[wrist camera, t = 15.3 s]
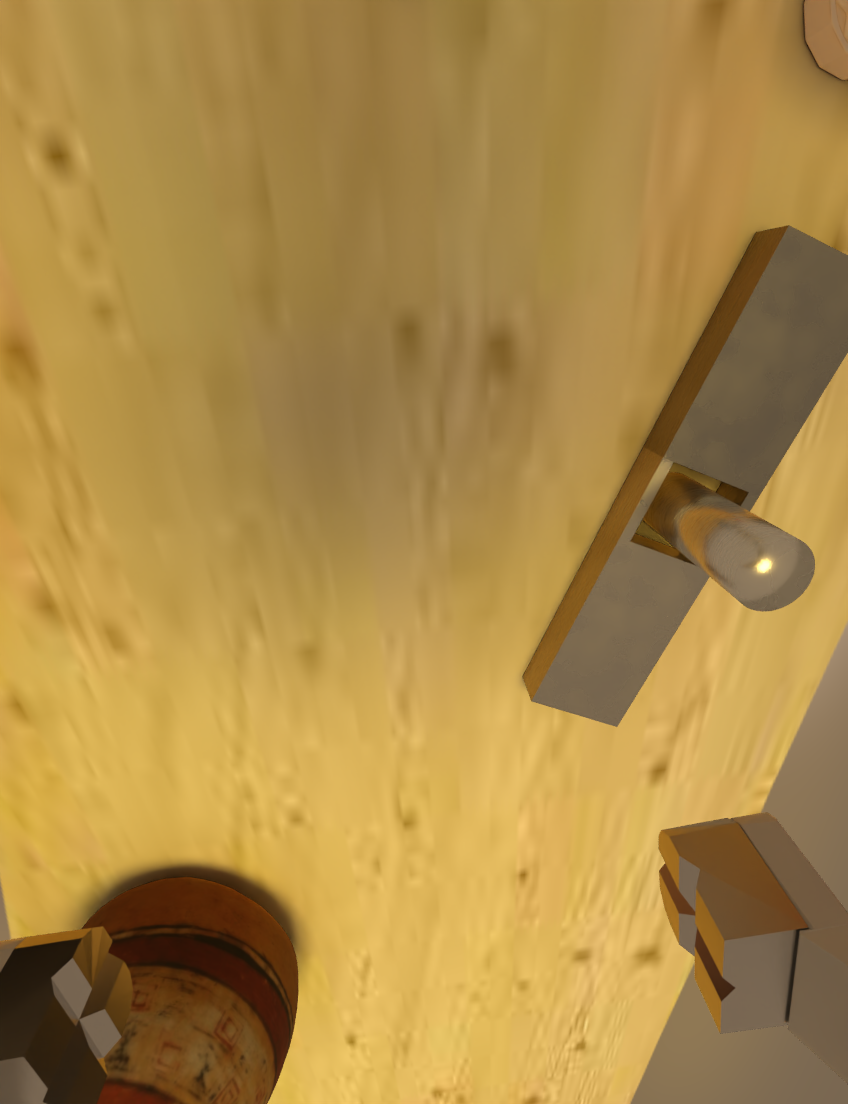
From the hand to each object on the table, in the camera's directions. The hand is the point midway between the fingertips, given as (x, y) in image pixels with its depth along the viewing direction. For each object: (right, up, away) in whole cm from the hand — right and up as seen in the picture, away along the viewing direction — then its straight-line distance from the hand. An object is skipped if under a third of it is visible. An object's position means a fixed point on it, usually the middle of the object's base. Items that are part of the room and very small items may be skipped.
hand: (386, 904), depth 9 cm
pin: (+17, +9, +31) cm, 37 cm away
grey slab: (+17, +8, +31) cm, 37 cm away
